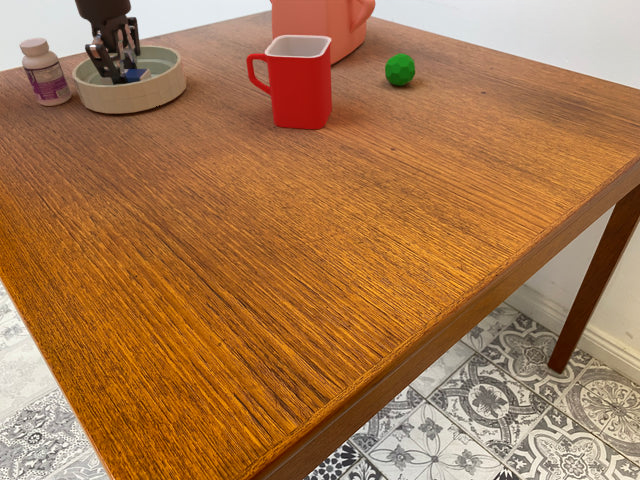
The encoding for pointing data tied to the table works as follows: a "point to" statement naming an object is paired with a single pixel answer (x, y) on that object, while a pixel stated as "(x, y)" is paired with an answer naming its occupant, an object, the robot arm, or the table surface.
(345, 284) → the table surface
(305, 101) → the mug
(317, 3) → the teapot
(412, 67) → the polyhedron
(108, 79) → the eraser
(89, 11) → the robot arm
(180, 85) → the bowl
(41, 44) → the pill bottle
